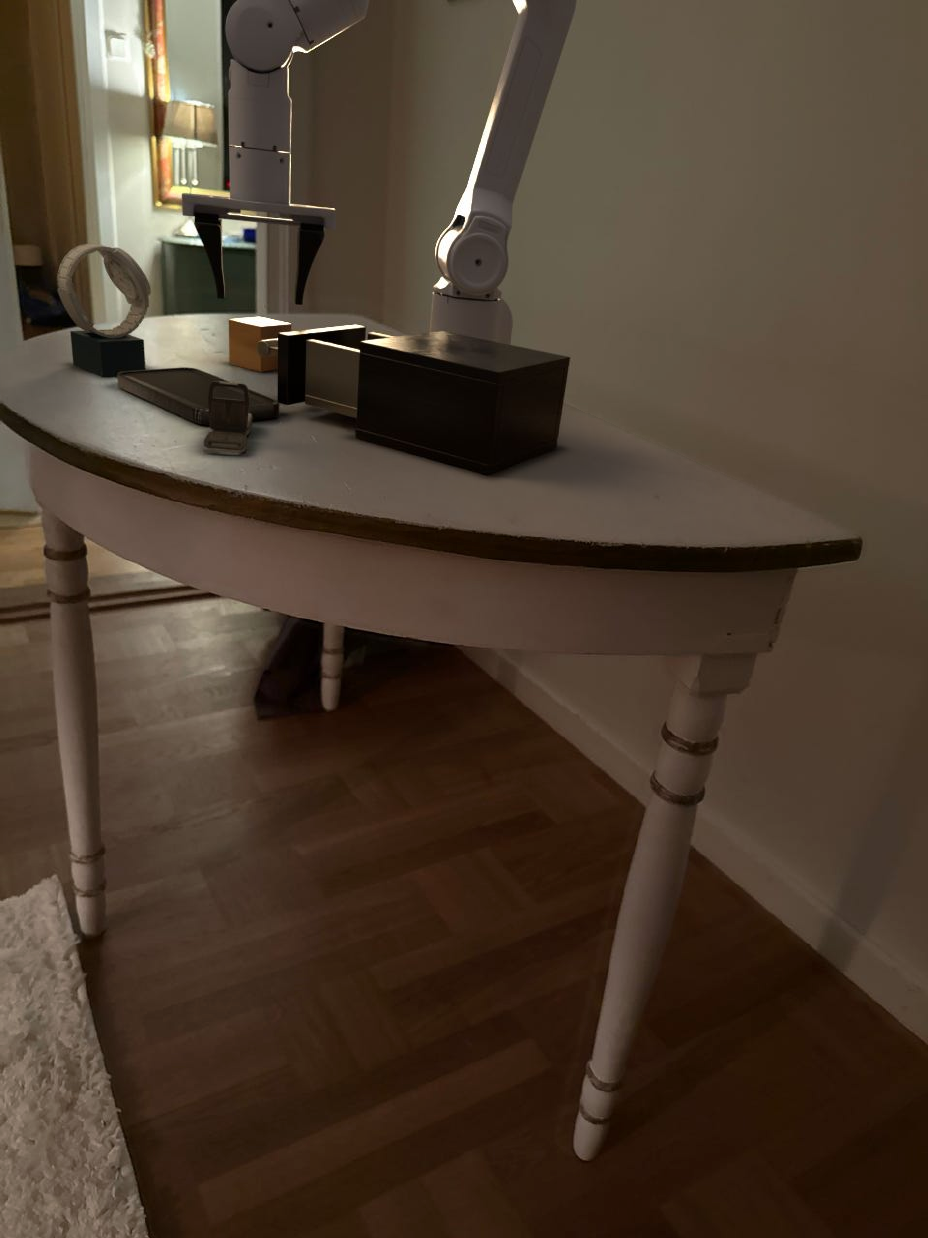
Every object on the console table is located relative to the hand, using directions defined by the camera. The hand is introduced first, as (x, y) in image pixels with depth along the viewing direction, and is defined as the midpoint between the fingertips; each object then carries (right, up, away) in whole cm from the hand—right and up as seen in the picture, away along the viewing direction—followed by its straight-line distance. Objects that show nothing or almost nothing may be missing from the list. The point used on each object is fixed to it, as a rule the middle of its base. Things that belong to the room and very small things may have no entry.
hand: (260, 300), depth 89 cm
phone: (-2, -14, -13) cm, 19 cm away
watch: (-13, -9, -5) cm, 17 cm away
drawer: (+10, -13, -12) cm, 21 cm away
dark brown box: (+20, -18, -17) cm, 32 cm away
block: (-1, -6, +3) cm, 7 cm away
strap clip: (+3, -19, -22) cm, 29 cm away
